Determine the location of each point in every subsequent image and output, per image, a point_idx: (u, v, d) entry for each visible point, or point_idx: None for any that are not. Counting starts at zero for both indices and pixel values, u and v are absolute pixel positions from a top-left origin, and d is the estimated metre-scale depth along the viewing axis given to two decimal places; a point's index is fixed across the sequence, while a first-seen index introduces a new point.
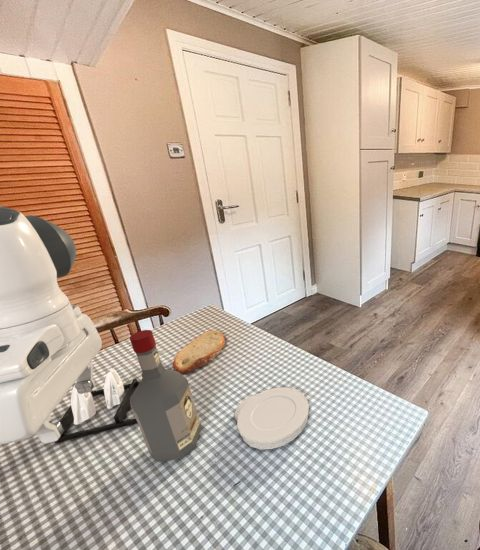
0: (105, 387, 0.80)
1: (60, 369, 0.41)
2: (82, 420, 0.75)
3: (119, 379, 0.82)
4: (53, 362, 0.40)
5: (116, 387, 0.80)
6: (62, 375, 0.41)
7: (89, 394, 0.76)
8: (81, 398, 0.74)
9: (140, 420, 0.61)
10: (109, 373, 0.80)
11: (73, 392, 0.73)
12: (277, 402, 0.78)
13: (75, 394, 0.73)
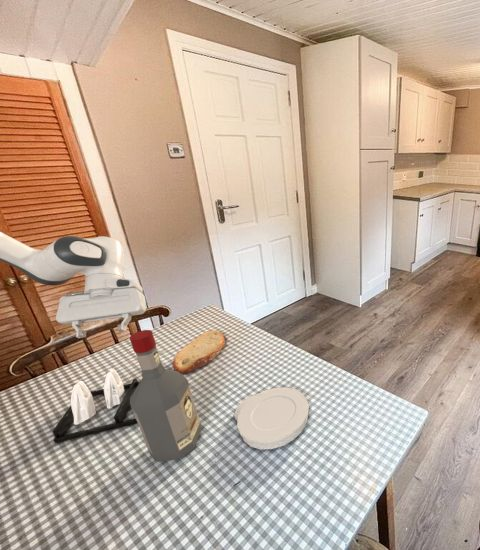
0: (105, 387, 0.80)
1: None
2: (82, 420, 0.75)
3: (118, 379, 0.82)
4: None
5: (116, 387, 0.80)
6: None
7: (89, 394, 0.76)
8: (81, 398, 0.74)
9: (140, 420, 0.61)
10: (109, 373, 0.80)
11: (73, 392, 0.73)
12: (277, 402, 0.78)
13: (75, 394, 0.73)
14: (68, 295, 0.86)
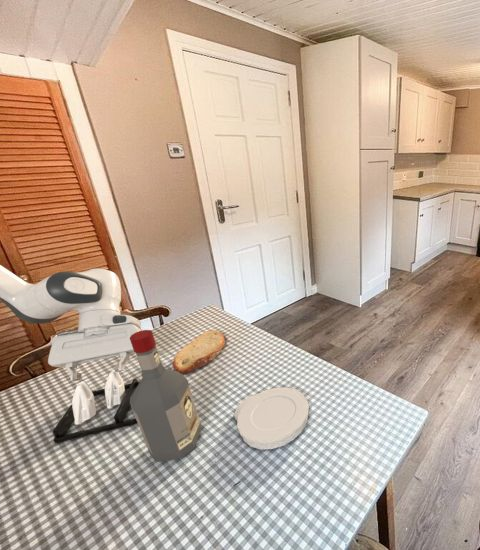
0: (106, 387, 0.80)
1: None
2: (83, 420, 0.75)
3: (120, 379, 0.82)
4: None
5: (117, 388, 0.80)
6: None
7: (91, 394, 0.76)
8: (83, 399, 0.74)
9: (140, 420, 0.61)
10: (111, 374, 0.79)
11: (75, 392, 0.73)
12: (277, 402, 0.78)
13: (77, 395, 0.73)
14: (61, 334, 0.80)
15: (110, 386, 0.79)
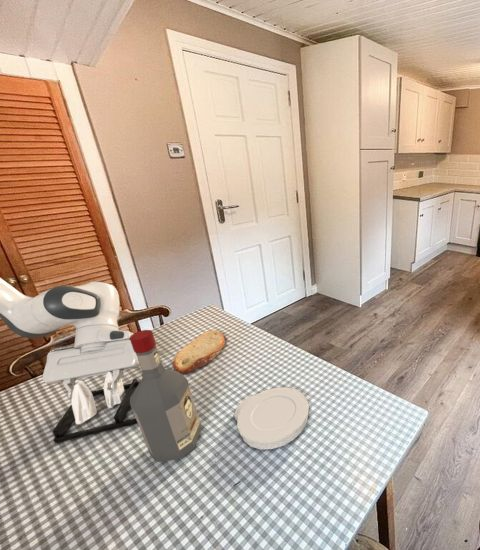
0: (105, 387, 0.80)
1: None
2: (84, 420, 0.75)
3: None
4: None
5: None
6: None
7: (90, 394, 0.76)
8: (82, 398, 0.74)
9: (140, 420, 0.61)
10: (109, 372, 0.80)
11: (74, 392, 0.73)
12: (277, 402, 0.78)
13: (76, 394, 0.73)
14: (57, 350, 0.79)
15: None
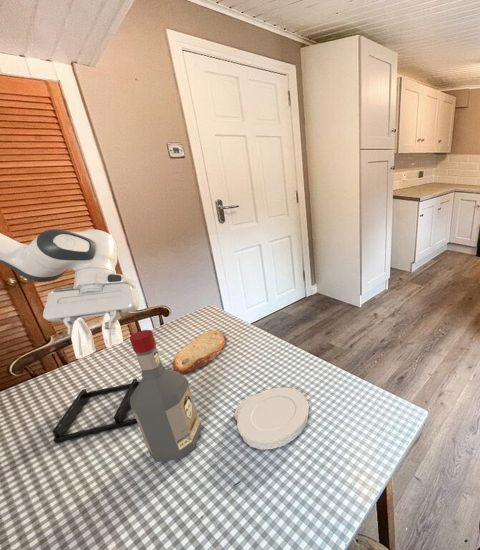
0: (103, 327, 0.83)
1: None
2: (83, 355, 0.78)
3: None
4: None
5: (114, 327, 0.84)
6: None
7: (89, 331, 0.79)
8: (82, 333, 0.77)
9: (140, 420, 0.61)
10: (107, 313, 0.83)
11: (74, 327, 0.77)
12: (277, 402, 0.78)
13: (76, 329, 0.77)
14: (56, 291, 0.82)
15: None
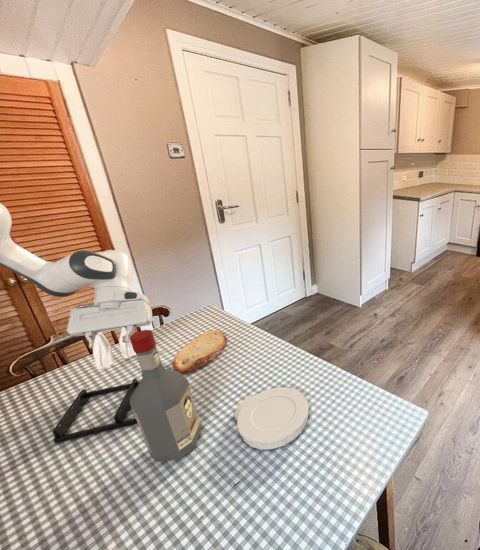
0: (120, 340, 0.91)
1: None
2: (103, 366, 0.86)
3: None
4: None
5: None
6: None
7: (108, 344, 0.88)
8: (102, 347, 0.86)
9: (140, 420, 0.61)
10: (124, 327, 0.91)
11: (95, 341, 0.85)
12: (277, 402, 0.78)
13: (97, 343, 0.85)
14: (78, 307, 0.90)
15: None
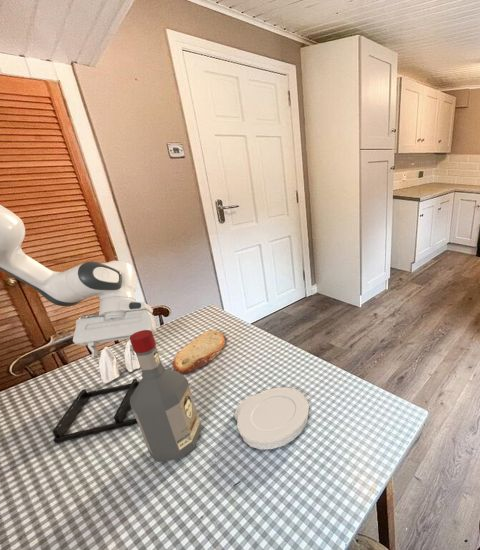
0: (126, 354, 0.93)
1: None
2: (109, 380, 0.88)
3: None
4: None
5: (135, 353, 0.94)
6: None
7: (114, 358, 0.89)
8: (108, 361, 0.87)
9: (140, 420, 0.61)
10: (129, 341, 0.93)
11: (101, 356, 0.87)
12: (277, 402, 0.78)
13: (103, 357, 0.87)
14: (84, 317, 0.92)
15: (129, 352, 0.93)
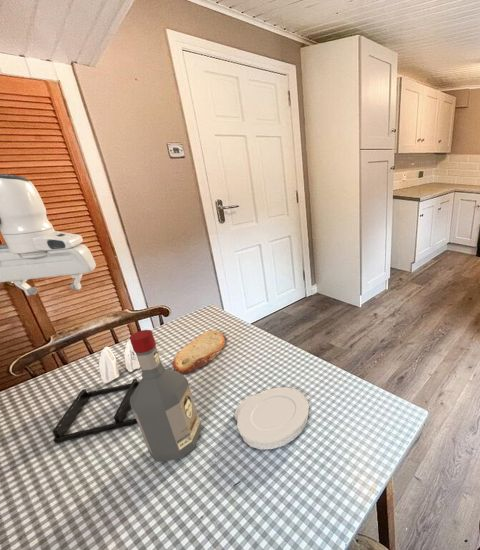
0: (126, 354, 0.93)
1: None
2: (109, 380, 0.88)
3: None
4: None
5: (135, 353, 0.94)
6: None
7: (114, 358, 0.89)
8: (108, 361, 0.87)
9: (140, 420, 0.61)
10: (129, 341, 0.93)
11: (101, 356, 0.87)
12: (277, 402, 0.78)
13: (103, 357, 0.87)
14: None
15: (129, 352, 0.93)
